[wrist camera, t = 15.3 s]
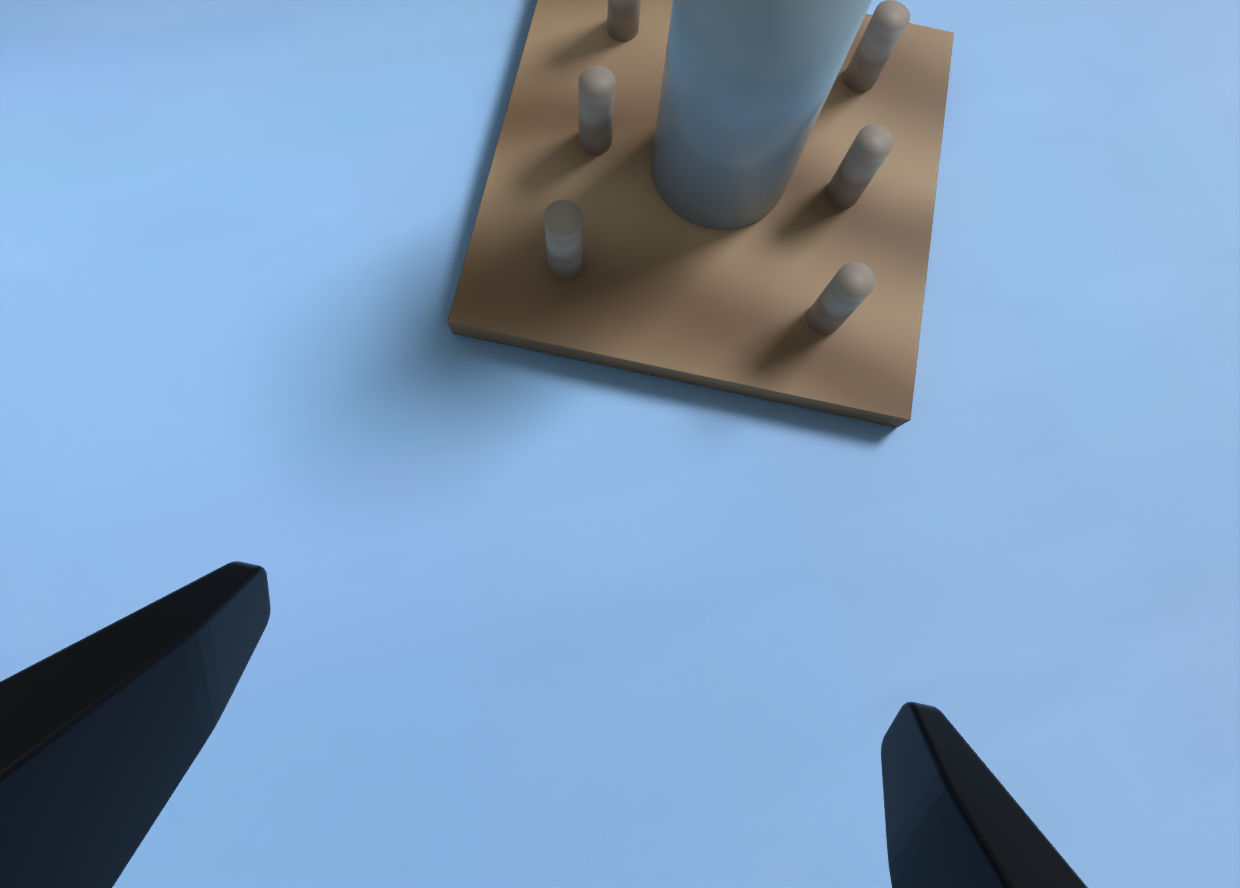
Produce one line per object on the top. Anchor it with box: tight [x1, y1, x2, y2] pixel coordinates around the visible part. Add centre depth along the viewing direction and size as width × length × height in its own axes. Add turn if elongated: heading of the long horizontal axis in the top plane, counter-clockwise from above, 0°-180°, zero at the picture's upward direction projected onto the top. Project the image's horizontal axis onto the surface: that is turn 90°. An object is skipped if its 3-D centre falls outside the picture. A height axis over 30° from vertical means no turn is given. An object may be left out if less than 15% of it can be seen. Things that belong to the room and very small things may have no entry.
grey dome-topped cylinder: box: [651, 0, 872, 229], centre depth 21 cm, size 5×5×10 cm
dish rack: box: [448, 0, 954, 427], centre depth 25 cm, size 16×16×4 cm
